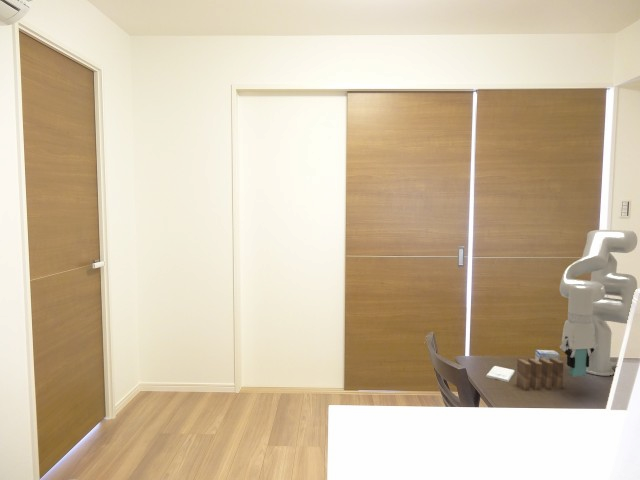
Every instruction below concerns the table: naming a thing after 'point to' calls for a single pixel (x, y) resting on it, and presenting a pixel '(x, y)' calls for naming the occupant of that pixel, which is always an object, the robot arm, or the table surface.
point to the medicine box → (546, 354)
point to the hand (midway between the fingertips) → (577, 365)
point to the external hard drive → (500, 373)
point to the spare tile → (579, 363)
